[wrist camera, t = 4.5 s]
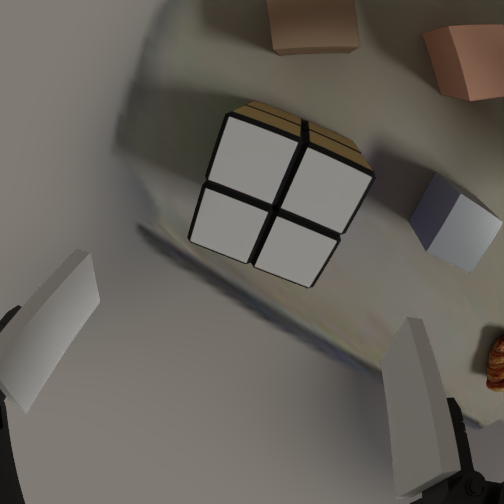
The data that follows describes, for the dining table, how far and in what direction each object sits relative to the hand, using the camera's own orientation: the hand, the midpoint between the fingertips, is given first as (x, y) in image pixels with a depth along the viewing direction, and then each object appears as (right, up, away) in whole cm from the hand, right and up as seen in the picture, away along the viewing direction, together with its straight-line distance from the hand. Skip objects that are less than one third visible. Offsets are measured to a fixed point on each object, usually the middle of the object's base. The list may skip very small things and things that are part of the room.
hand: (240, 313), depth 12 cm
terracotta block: (+19, +20, +7) cm, 29 cm away
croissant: (+44, -16, +25) cm, 53 cm away
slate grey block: (+20, +7, +15) cm, 26 cm away
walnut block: (+5, +22, +9) cm, 24 cm away
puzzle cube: (+4, +10, +17) cm, 20 cm away
